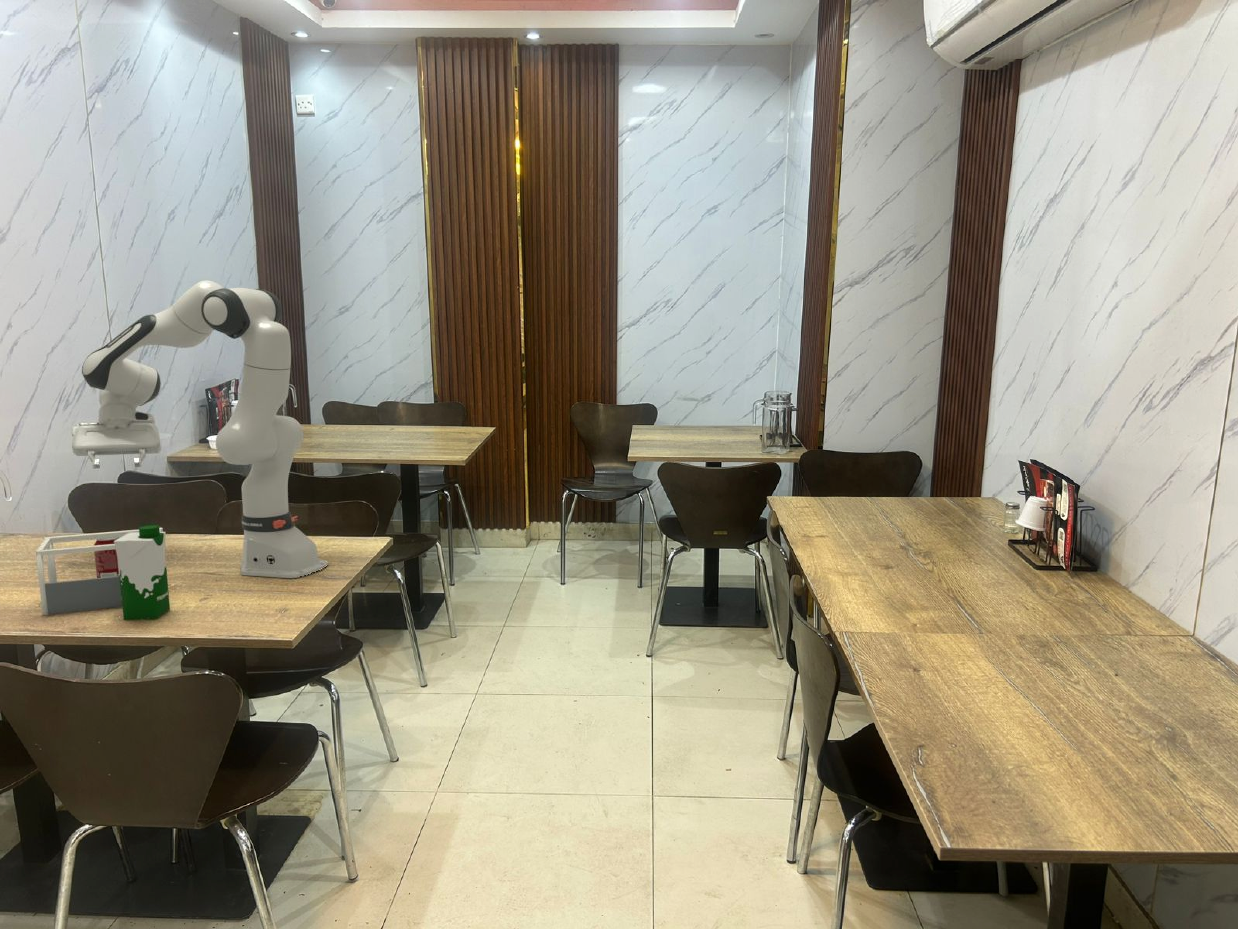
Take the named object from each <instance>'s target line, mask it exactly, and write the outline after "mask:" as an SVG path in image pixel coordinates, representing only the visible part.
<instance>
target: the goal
mask: <svg viewBox="0 0 1238 929" xmlns="http://www.w3.org/2000/svg"><path fill="white" fill-rule="evenodd" d="M159 529H160V532H164V530H163V529H164V528H163V527H159ZM135 532H139V529H129V530H119V531H107V532H93V533H83V534H71V535H57V536H48V537H46V536H45V537H44V538H43V542H42V543H41V544H40V545H39V547H38V548H37V549H36V551H35V559H36V567H37V576H38V583H39V592H40V604H41V610H42V615H43V616H49V615H56V614H65V613H74V612H83V611H84V612H85V611H92V610H93V611H94V610H102V609H109V608H118V607H121V608H122V600H121V590H120V579H119V576H113V577H103V578H97V577H92V578H85V579H84V578H83V579H73V580H65V581H58V579H57V578H58V577H57V569H56V560H55V558H56V557H55V555H65V554H67V555H68V554H78V553H87V552H88V553H89V552H94V551H102V550H113V549H116V548H115V544H108V545H97V546H94V545H88V546H77V547H64V548H54V544H57V543H67V542H68V543H69V542H82V541H91V540H96V539H105V538H117V537H123V536H124V535H126V534H128V533H135ZM43 556H44V557H45V559H46V568H47V577H48V582H46V574H45V573H46V572H45V566H44V557H43Z"/></svg>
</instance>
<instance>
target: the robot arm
mask: <svg viewBox="0 0 1238 929" xmlns="http://www.w3.org/2000/svg"><path fill="white" fill-rule="evenodd" d="M282 314H283V309H282V304H281V301H280V299H279V298H278V297H277V296H276V295H275V293H273V292H271V291H268V290H265V289H261V288H246V287H230V288H226V287H225V288H224V287H223V286H222V285H221V284H219V283H217V282H216V281H213V280H201V281H199V282H197V283H196V284H194V285H193V286H191V287H190V288H188V289H187V290H186V291H185V292H184V293H183V294H182V295H181V296H180V297H178V299H177V300H176V301H175V302H174V303H173V304H172V305H171V306H170V307H168V308H166V309H164V310H163V311H159V312H157V313H153V314H147V315H146V314H145V315H144V316H142V317H141V318H138V320H136V321H135V322H133V323H132V324H130V326H128V327H126V329H124V330H123V331H122V332H121V333H119V334H117V336H115V337H114V338H113V339H111V341H109V342H107V343H106V344H105V345H104V346H102V347H100V348H97V349H96V350H94V351H92V352H91V353H90V354H89V355H88V356H87V357H86V358H85V360H84V362H82V363H83V364H82V367H81V374H82V377H83V378H84V380H85V383H87V385H88V386H89V387H90V388H94V389H98V390H99V392H98V393H99V394H98V401H99V404H100V407H99V410H98V422H88V423H87V422H86V423H85V422H82V423H78V424H77V425H74V426H73V427H72V429H71V435H72V444H71V448H72V453H73V454H74V455H75V456H77V457H88V459H89V461H90V462H91V464H92V469H100V468H101V466H100V465H101V463H100V459H96V456H115V455H116V456H117V455H118V456H119V455H121V456H123V455H138V457H136V458H135V457H134V458H133V459H134V464H133V465H134V467H135V468H142V462H143V461H144V460H145V458H147V454H148V455H149V454H159V453H160V452H161V451H162V450H161V449H162V447H161V446H162V444H161V438H160V433H159V430H158V429H159V428H158V426H157V425H156V420H155V417H154V415H153V414H151V413H147V412H142V411H138V410H137V408H138V407H141V406H144V405H146V404H148V403H149V402H151V401H153V400H155V399H156V398H157V396H158V395H159V393H160V391H161V385H162V384H161V383H162V382H161V377H160V374H159V372H158V371H157V369H155V368H153V367H150V366H148V365H146V364H143V363H141V362H138V361H134V360H132V359H129V358H128V357H129V356H131V355H133V353H135V351H137V350H138V349H139V348H142V347H145V346H146V347H147V346H163V347H164V346H167V347H173V348H178V349H187V348H188V349H189V348H193V347H196V346H198V345H200V344H202V343H203V342H204V341H205V340H206V339H207V338H208V337H209V336H210V335H211V334H212V333H213V332H214V330H215V331H217V332H219V333H222V334H224V335H226V336H227V337H229V338H230V339H234V340H235V339H239V338H241V340H242V342H243V344H244V357H243V368H242V380H241V388H240V393H239V396H238V401H237V403H236V405H235V408H234V410H233V412H232V415H231V416H230V418H229V420H228V421H227V423H226V424H225V425H224V426H223V427H222V428H221V429H220V430H219V431H218V432H217V435H216V438H215V448H216V451H217V454H218V456H219V457H220V458H221V459H222V460H223V461H224V462H226V463H227V464H229V465H242V466H243V465H244V466H247V465H252V466H251V469H250V471H249V473H248V475H247V476H246V478H245V479H244V480H243V482H242V484H241V499H242V500H241V501H242V502H241V503H242V514H241V528H242V529H243V543H242V558H241V562H240V563H241V564H240V566H239V567H240V575H242V576H251V577H253V576H254V577H264V578H265V577H267V578H279V579H280V578H282V579H284V578H285V579H296V578H301V577H300V576H302V577H304V576H303V575H306V576H309V575H312V574H313V573H312V572H315V573H317V572H316V571H318V570H319V569H321V568H324V567H325V566H326V565H328V566H329V561H328V560H325V559H321V558H319V553H318V552H319V551H318V547H317V545H316V543H315V542H314V541H313V540H312V539H310V538H309V537H308V536H307V535H305V533H303V531H301V530H300V529H299V528H297V526H296V523H295V522H296V521H298V519H297V518H298V515H295V516H292V513H291V511H290V510H289V497H288V496H289V492H288V490H289V488H288V487H289V486H288V484H289V476H290V471H291V466H292V463H293V460H294V458H295V455H296V453H297V452H298V450H299V449H300V447H301V446H302V444H303V442H304V436H305V434H304V430H303V426H302V425H301V424H300V422H299V421H298V420H297V419H295V418H294V417H291V416H287V415H277V412H278V411H279V409H280V407H281V406H282V405H284V403H285V402H286V400H287V398H288V396H289V388H290V386H289V385H290V379H291V378H290V377H291V376H290V375H291V363H292V347H291V346H292V345H291V337H290V331H289V330H288V328H287V327H286V326H284V325H283V324H281V323H279V322H280V321H281V318H282ZM324 569H325V568H324ZM318 572H319V571H318ZM311 573H312V574H311ZM308 574H309V575H308Z"/></svg>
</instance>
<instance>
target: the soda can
mask: <svg viewBox="0 0 1238 929" xmlns="http://www.w3.org/2000/svg"><path fill="white" fill-rule="evenodd" d="M119 538H121V537H117V538H105V539H95V540H96V541H95V542H94V545H93V546H97V545H108V544H114V541H115V540H117V539H119ZM93 552H94V563H95V571H96V572H95V573H96V578H103V577H113V576H119V569H118V559H117V553H116V549H113V550H102V551H93Z"/></svg>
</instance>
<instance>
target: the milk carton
mask: <svg viewBox="0 0 1238 929" xmlns="http://www.w3.org/2000/svg"><path fill="white" fill-rule="evenodd" d="M159 528H160V525H159V524H147V525H142V526H139V527H138V530H139V532H135V533H128V534H126V535H124V536H123V537H121V538H119V539H117V540H115V541H114V544H115V548H116V553H117V559H118V569H119V579H120V590H121V600H122V606H121V608H122V616H123V621H130V620H131V621H133V620H134V621H136V620H138V621H139V620H141V621H142V620H157V619H159V618H160V617H161V616H163V615H164V614H165V613H167V611H169V610H170V609H171V606H170V604H171V603H170V594H169V593H170V592H169V583H168V582H169V580H168V572H167V571H168V570H167V561H166V560H167V558H166V533H167V532H166V531H163V532H160V529H159Z"/></svg>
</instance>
